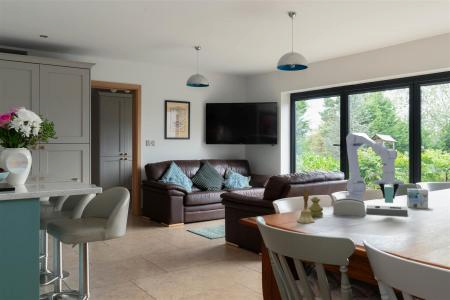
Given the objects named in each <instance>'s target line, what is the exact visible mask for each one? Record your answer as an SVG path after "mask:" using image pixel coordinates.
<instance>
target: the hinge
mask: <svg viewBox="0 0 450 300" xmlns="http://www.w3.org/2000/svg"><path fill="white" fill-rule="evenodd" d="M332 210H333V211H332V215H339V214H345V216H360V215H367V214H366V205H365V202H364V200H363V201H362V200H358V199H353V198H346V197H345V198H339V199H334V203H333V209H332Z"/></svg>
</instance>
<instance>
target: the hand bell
mask: <svg viewBox="0 0 450 300" xmlns="http://www.w3.org/2000/svg"><path fill="white" fill-rule="evenodd" d="M302 197H303V209H301V211H300V215H299V218H298V219H297V221H296V222H297V223H301V224H313V223H315V220H314V219H313V217H311V211H310V210H308V208H309V205H308V201H309V198H310V195H309V190H308V188H304V190H303V195H302Z"/></svg>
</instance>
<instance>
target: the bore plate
mask: <svg viewBox="0 0 450 300" xmlns="http://www.w3.org/2000/svg"><path fill="white" fill-rule="evenodd" d="M407 207H408V206H398V205H397V206H395V205H375V204H374V205H372V204H367V205H366V207H365V211H366V213H367V214H366V215H380V214H383V215H384V216H398V217H399V216H401V217H402V216H403V217H408V216H409V215H408V212H409V211H408V208H407ZM383 215H382V216H383Z"/></svg>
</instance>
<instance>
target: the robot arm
mask: <svg viewBox="0 0 450 300" xmlns="http://www.w3.org/2000/svg"><path fill="white" fill-rule="evenodd" d="M345 139H346V140H345V141H346V149H347V159H348V166H349V175H350V177H349V179H347V180H346V183H347V184H346V190H347V193H346V195H345V198H353V199H358V200H362V201H363V202H364V194H365V192H366V191H367V185H366V183H365V179H364V178H363V177H362V176H361V171H360V163H359V162H360V161H359V156H358V155H359V154H358V150H359V148H361V147H362V146H363V145H364V144H365V145H367V146H368V147H370V148H371V149H372V152H373V153H375V154H377V155H378V156H380V159H381V163H382V180H381V179H379V180H377V179H375V180H373V184H374V185H378V186H379V188H380V191H381V193H382V197H383V199H385V185H392V187H393V200H395V199H396V194H397V191H398V189H399V186H405V180H396V174H395V173H396V172H395V171H396V167H395V165H396V164H395V162H396V159H397V157H398V152H397V151H396V149H394V148H391V149H390V148H389V146H386V145H385V144H383V142H381V141H380V142H379V141H378V142H376V141H374V140H373V139H372V138H370V137H369V136H368V134H366V133H364V132H348V134H347V136H346V137H345Z"/></svg>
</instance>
